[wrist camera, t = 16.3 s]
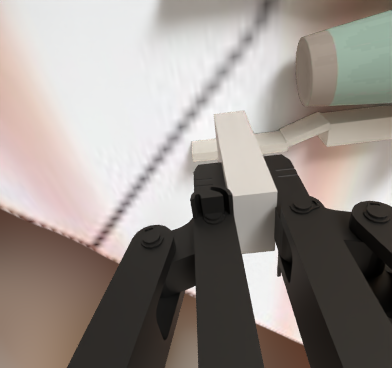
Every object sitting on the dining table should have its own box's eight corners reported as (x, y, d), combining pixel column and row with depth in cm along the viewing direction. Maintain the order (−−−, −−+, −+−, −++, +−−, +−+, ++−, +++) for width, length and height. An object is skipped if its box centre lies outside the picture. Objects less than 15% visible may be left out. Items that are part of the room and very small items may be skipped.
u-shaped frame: (192, 149, 34) (193, 183, 29) (166, -33, 25) (160, -37, 19) (427, 121, 33) (477, 151, 27) (494, -82, 24) (593, -102, 18)
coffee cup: (292, 104, 32) (413, 85, 30) (314, 137, 25) (474, 115, 23) (291, 14, 28) (434, -14, 26) (318, 24, 20) (518, -14, 19)
